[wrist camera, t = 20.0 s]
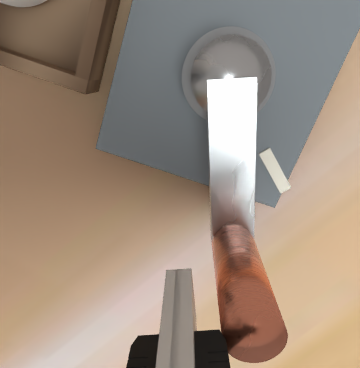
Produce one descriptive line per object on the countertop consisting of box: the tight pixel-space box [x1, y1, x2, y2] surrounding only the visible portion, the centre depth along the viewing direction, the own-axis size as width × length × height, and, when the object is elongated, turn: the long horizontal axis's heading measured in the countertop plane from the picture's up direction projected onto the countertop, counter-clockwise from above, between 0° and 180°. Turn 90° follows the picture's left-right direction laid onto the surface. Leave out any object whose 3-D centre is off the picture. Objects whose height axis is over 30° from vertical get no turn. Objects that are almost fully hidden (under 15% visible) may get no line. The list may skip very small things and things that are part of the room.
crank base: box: [96, 0, 360, 208], centre depth 19 cm, size 13×14×4 cm
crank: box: [191, 34, 288, 363], centre depth 14 cm, size 12×4×8 cm, turn 3°
